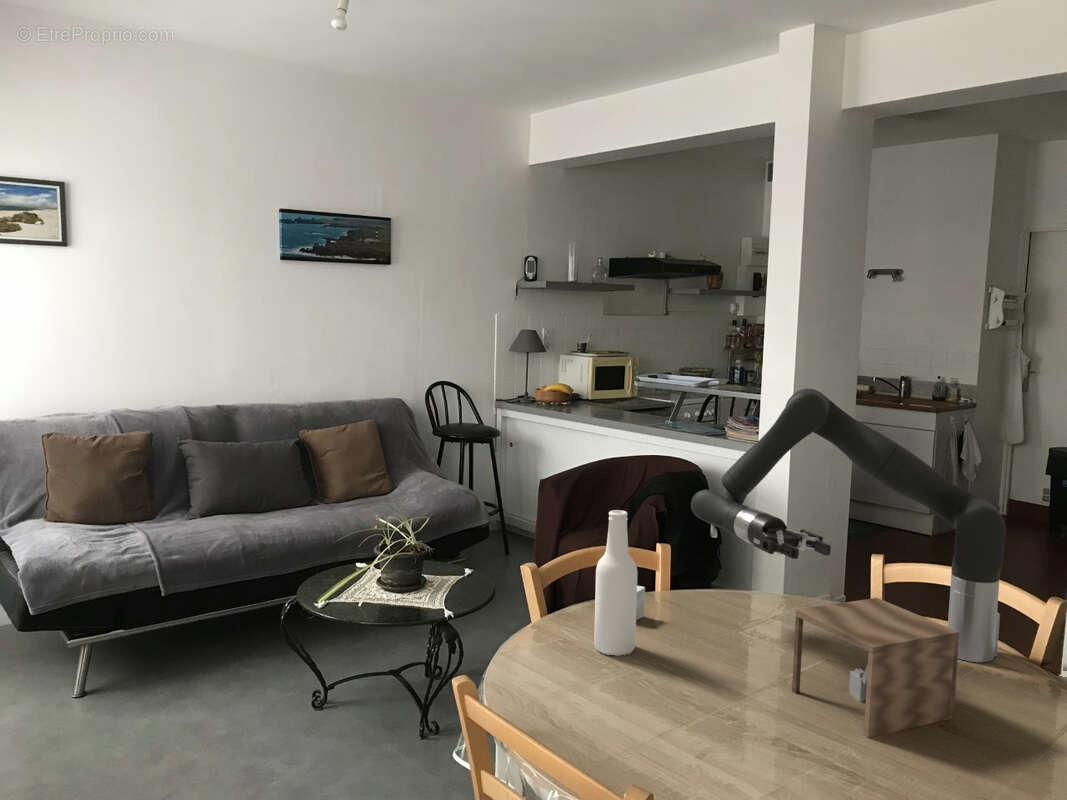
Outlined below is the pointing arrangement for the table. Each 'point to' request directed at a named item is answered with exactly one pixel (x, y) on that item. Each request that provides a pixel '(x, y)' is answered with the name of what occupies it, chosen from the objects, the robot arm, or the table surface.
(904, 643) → the open side box
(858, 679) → the lighter
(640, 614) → the product box
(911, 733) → the table surface
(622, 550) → the alcohol
